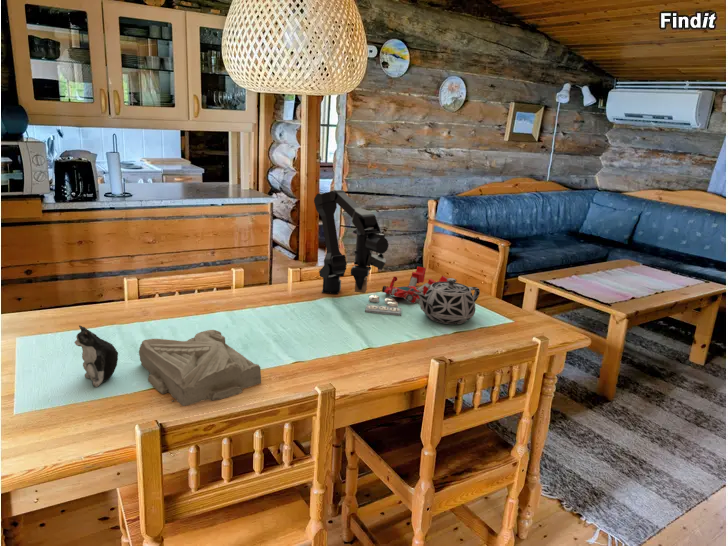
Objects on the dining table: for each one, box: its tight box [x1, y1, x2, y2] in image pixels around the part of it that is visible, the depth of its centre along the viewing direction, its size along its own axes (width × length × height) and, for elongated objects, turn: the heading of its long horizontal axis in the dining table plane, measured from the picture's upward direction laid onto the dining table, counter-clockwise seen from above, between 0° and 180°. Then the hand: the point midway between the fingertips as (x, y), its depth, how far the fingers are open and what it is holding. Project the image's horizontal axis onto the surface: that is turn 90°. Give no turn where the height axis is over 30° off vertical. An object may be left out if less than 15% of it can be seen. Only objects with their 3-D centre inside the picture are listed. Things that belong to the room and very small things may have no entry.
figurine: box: [74, 324, 119, 388], centre depth 141 cm, size 10×10×15 cm
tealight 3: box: [386, 300, 399, 307], centre depth 210 cm, size 4×4×3 cm
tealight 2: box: [384, 296, 396, 305], centre depth 214 cm, size 4×4×3 cm
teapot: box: [414, 277, 481, 325], centre depth 200 cm, size 19×31×15 cm, turn 123°
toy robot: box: [381, 265, 448, 304], centre depth 226 cm, size 18×10×30 cm
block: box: [354, 277, 368, 294], centre depth 208 cm, size 4×4×5 cm
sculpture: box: [138, 329, 262, 407], centre depth 148 cm, size 25×31×9 cm
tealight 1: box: [368, 294, 380, 304], centre depth 215 cm, size 4×4×3 cm
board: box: [364, 303, 403, 317], centre depth 206 cm, size 13×6×1 cm, turn 83°
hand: (360, 288), depth 208 cm, fingers closed on block, 4 cm apart
